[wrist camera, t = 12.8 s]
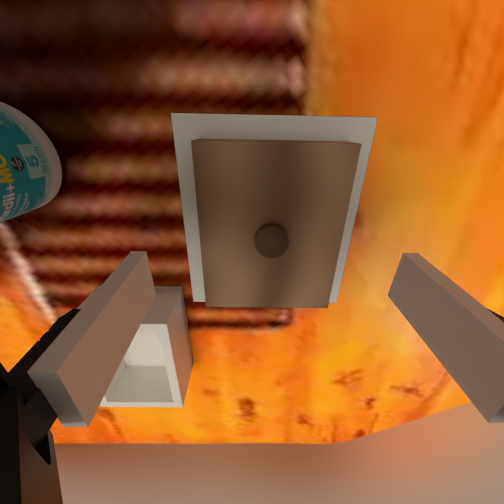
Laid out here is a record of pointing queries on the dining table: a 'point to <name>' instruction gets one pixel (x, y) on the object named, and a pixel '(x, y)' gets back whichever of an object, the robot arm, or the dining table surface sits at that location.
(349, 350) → the dining table surface
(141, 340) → the dish
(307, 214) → the cover
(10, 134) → the pill bottle
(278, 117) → the mat
